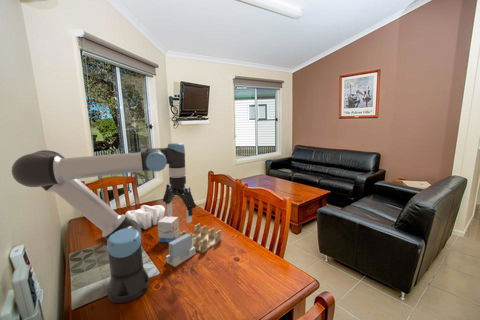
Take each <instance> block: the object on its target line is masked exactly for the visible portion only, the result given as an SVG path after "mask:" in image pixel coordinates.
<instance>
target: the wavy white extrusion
mask: <svg viewBox="0 0 480 320" xmlns="http://www.w3.org/2000/svg"><path fill="white" fill-rule="evenodd" d="M165 211H166V207H164V206H163V205H161V204H160V205H159V204H158V205H152V206H151V205H146V204H143V205H140V208H138V209H134V210H133V209H132V210H127V211H126V212H125V214H122V215H125V216H126V217H128V218H129V219H132V220H135V221H136V222H137V223H138V224H139V226H140V228H141V229H144V230H147V229H150V228H151V227H152V225H153V226H156V225H158V221H160V220H161V219H162V218H164V217H165Z"/></svg>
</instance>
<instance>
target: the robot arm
mask: <svg viewBox="0 0 480 320" xmlns="http://www.w3.org/2000/svg"><path fill="white" fill-rule="evenodd" d="M185 150H186V149H185V145H184V143H182V142H173V143H171V142H169V143H168V144H167V147H158V148H157V147H154V148H153V147H151V148H149V147H147V148H140V150H139V152H129V153H127V152H126V153H115V154H114V153H113V154H104V155H90V156H78V157H77V156H75V157H65V156H64V155H63V154H62V153H60V152H57V151H55V150H50V149H49V150H48V149H46V150H38V151H35V152H32V153H29V154H25V155H22V156H20V157H18V158H17V159H16V160H15V162H14V163H13V164H12V166H11V175H12V178H13V179H14V180H15V181H16V182H17V183H18V184H19V185H22V186H25V187H28V188H41V189H43V190H44V191H45V192H47V193H49V192H51V193H52V192H53V193H55V194H57V195H58V196H59V197H60V198H61V199H63V200H64V201H65V202H66V203H67V204H69V205H71V206H72V208H74V209H75V210H76V211H77V212H79V214H81V215H82V216H83V217H85V219H87V220H88V221H90V222H91V223H92V224H94V225H95V226H96V227H97V228H98V229H100V231H102V233H101V234H102V235H101V236H102V238H104V239H105V241H106V250H107V253H108V254H107V255H108V263H109V264H108V265H109V271H110V272H109V273H110V279H109V282H108V287H107V297H108V300H109V301H110V302H112V303H115V304H122V303H128V302H131V301H134V300H137V299H138V298H140V297H141V296H142V295H144V294H145V293H146V292H147V291H148V286H149V285H150V276H149V275H148V273H147V271H146V269H145V268H144V261H143V260H144V259H143V250H142V228H140V226H139V224H138V223H137V222H136V221H135V220H132V219H129V218H128V217H126V216H125V214H124V215H123V214H119V213H117V212H116V211H115V210H114V209H113V208H112V207H110V206H109V204H107V203H106V202H105V201H104V200H103V199H101V198H100V196H98V195H97V194H96V193H94V191H92V190H91V189H90V188H89V187H88V186H86V184H85V183H83V182H82V181H81V180H80V179H86V178H87V179H88V178H95V177H96V178H97V177H106V176H113V175H123V174H129V173H130V174H131V173H140V172H150V171H151V172H155V173H157V172H161V171H163V170H164V169H165V168H166V167H167V165H168V176H169V177H168V179H169V183H167V184H166V185H165V186H166V187H165V193H164V195H163V198H162V202H163V203H165V210H166V216H167V217H169V216H171V217H173V202H172V200H173V199H174V197H175V196H178V197H180V198H181V199H182V202H183V204H184V206H185V207H186V209H185V212H186V213H185V214H186V219H185V220H186V224H190V223H191V222H192V221H193V215H194V214H193V209H195V208H197V205H196V203H195V200H194V197H193V195H192V192H191V187H189V186H188V187H185V186H186V184H187V176H186V172H187V171H186V151H185Z"/></svg>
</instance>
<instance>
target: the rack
mask: <svg viewBox="0 0 480 320" xmlns="http://www.w3.org/2000/svg"><path fill="white" fill-rule="evenodd" d="M193 227H194V233H193V232H189V233H188V234H189V235H191V244H192V247H195V251H196V252H198V253H201V254H203V253H205V252H206V251H207V250H210V249H211V248H212V247H214V246H215V245H216V244H218V243H219V242H221V241H222V230H221V229H219V230H217V231H216V232H215V228H214V227H212V228H209V229H208V228H207V225H206V224H205V225H203V226H201V223H200V222H199V223H197V224H195V225H193ZM185 234H187V231H186V230H183V231H181V232H179V236H178V238H179V237H181V236H183V235H185Z"/></svg>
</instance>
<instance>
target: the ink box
mask: <svg viewBox="0 0 480 320" xmlns="http://www.w3.org/2000/svg"><path fill="white" fill-rule="evenodd" d="M157 229H158V230H157V231H158V242H159V243H170V242H172V241H173V240H175V239H177V238H179V233H180V227H179V217H178V216H169V217H167V215H166V216H165V215H164V216H163V218H162V219H161V220H160V221H158V220H157Z"/></svg>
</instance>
